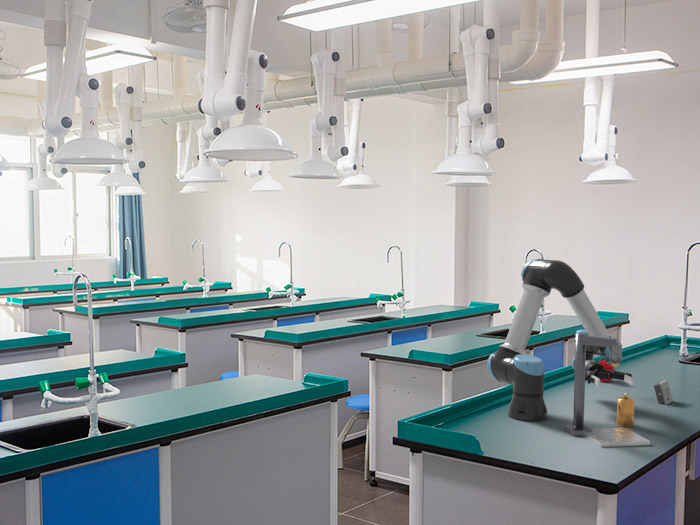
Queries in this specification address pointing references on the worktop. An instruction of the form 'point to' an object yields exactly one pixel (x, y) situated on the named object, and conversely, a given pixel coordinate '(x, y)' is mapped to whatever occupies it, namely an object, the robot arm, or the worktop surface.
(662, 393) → the electrical switch
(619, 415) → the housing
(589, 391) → the worktop surface
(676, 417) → the worktop surface
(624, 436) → the arbor press
